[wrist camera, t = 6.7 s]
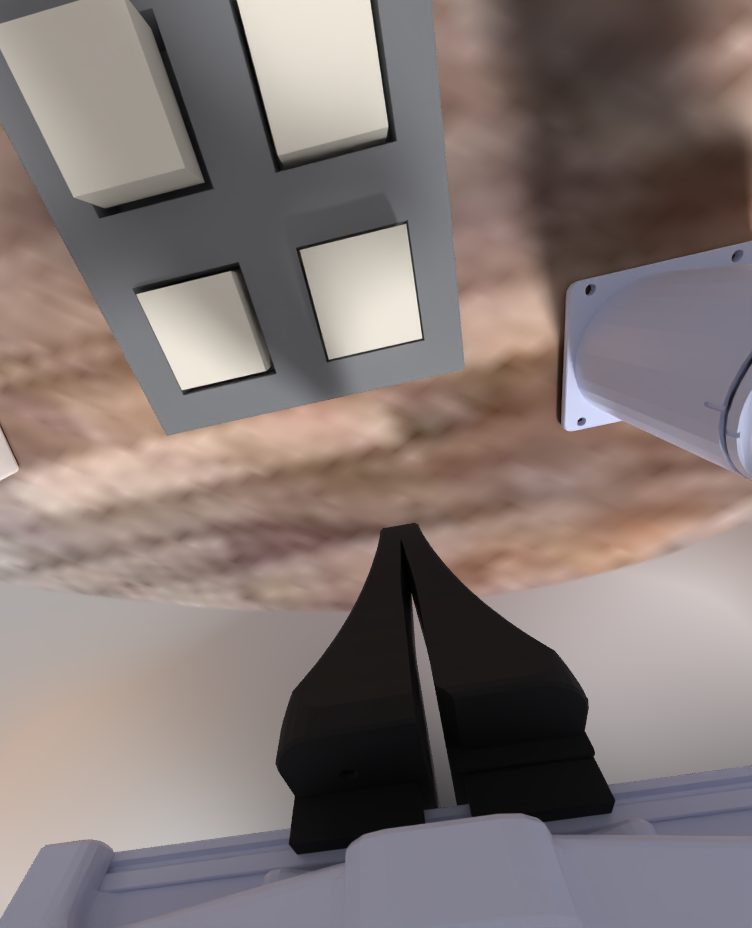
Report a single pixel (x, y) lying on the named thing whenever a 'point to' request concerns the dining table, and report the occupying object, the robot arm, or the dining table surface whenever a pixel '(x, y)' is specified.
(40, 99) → the button
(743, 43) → the dining table surface
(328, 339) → the button
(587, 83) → the dining table surface
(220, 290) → the button
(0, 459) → the jar
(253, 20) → the button
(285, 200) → the button board
